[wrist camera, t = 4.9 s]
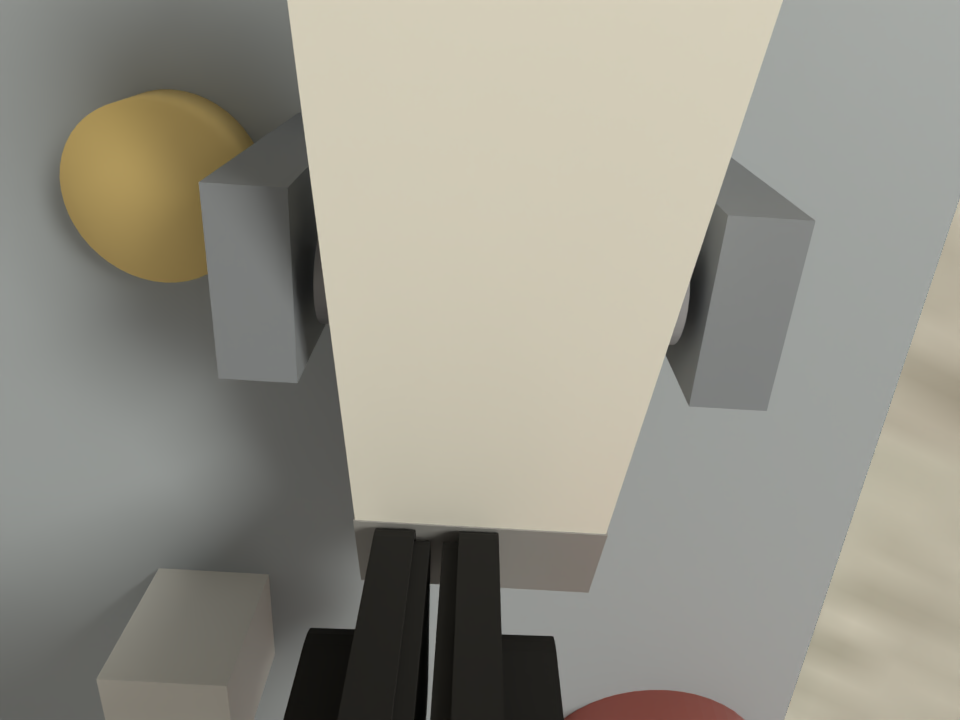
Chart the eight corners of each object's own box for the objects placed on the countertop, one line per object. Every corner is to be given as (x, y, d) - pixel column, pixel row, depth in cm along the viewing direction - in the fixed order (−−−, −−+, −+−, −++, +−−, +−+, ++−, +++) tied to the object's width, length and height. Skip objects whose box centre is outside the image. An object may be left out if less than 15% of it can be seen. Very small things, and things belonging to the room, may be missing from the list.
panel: (1018, -257, 10) (1593, -514, 5) (705, 807, 20) (784, 1112, 15) (-436, -360, 10) (-1507, -751, 5) (-37, 768, 20) (-234, 1063, 14)
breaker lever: (849, -387, 5) (945, -357, 4) (594, 495, 12) (601, 593, 11) (266, -430, 5) (190, -411, 4) (364, 482, 12) (349, 579, 11)
